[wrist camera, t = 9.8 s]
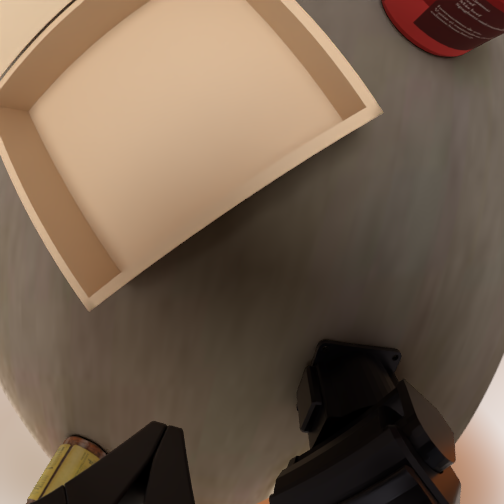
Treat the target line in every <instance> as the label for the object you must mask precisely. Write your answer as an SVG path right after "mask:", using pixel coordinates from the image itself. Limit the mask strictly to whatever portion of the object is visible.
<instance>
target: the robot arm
mask: <svg viewBox="0 0 504 504" xmlns="http://www.w3.org/2000/svg"><path fill="white" fill-rule="evenodd" d="M324 346H328V348H327V349H322V348H323V347H324ZM394 355H396V357H394V358H392V357H393V356H394ZM400 359H401V353H400V352H399V350H397V349H390V348H381V347H373V346H365V345H357V344H350V343H343V342H336V341H329V340H323V341H321V342H320V343H319V344H318V346H317V349H316V352H315V355H314V357H313V360H312V363H311V366H308V367H306V368H305V371H304V374H303V377H302V380H301V382H300V385H299V388H298V391H297V405H296V407H297V411H298V413H299V423H300V430H301V431H302V432H305V433H308V436H309V445H310V450H309V451H307V452H305V453H304V454H302V455H300V456H296V457H294V458H292V459H291V460H290V462H289V464H288V467H287V468H286V469H284V470H282V472H281V473H280V475H279V476H278V477H277V479H276V484H275V488H274V494H271V495H270V497H269V502H270V504H460V492H461V483H460V481H459V479H458V477H457V476H456V474H455V473H454V471H453V469H452V468H451V466H450V465H452V464H453V463H454V462H455V460H456V459H455V442H454V433H453V432H452V430H451V429H450V427H449V426H448V424H447V423H446V421H445V420H444V418H443V417H442V415H441V414H440V412H439V411H438V410H437V409H436V408H435V407H434V406H433V405H432V404H431V403H430V402H429V401H428V400H426V399H425V398H424V397H423V396H422V395H421V394H420V393H419V392H418V391H417V390H416V389H415V388H414V387H412V386H411V385H410V384H409V383H408V382H407V381H406V380H405V379H402V380H401V381H400V382H399V381H398V379H397V378H396V376H395V374H394V372H395V370H396V368H397V366H398V364H399V361H400ZM29 504H195V501H194V496H193V490H192V485H191V479H190V473H189V467H188V461H187V454H186V448H185V441H184V433H183V429H182V428H178V427H174V426H170V425H169V426H168V427H167V425H166V424H163V423H160V422H156V421H152V422H150V423H149V424H148V425H146V426H145V427H144V428H142V429H141V430H140V431H138V432H137V433H136V434H134V435H133V436H132V437H130V438H129V439H128V440H126V441H125V442H124V443H122V444H121V445H120V446H118V447H117V448H115V449H114V450H113V451H111V452H110V453H108V454H107V455H106V456H104V457H103V458H101V459H100V460H98V461H97V462H96V463H94V464H93V465H91V466H90V467H88V468H87V469H85V470H84V471H83V472H81V473H80V474H78V475H77V476H75V477H74V478H72V479H71V480H69V481H68V482H66V483H65V484H64V485H61V486H60V487H58V488H57V489H55V490H53V491H52V492H50V493H48V494H47V495H45V496H43V497H41V498H40V499H38V500H36V501H33V502H31V503H29Z"/></svg>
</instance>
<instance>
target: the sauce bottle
mask: <svg viewBox="0 0 504 504" xmlns="http://www.w3.org/2000/svg"><path fill="white" fill-rule="evenodd" d="M104 456H106V453H104V452H103V451H102V449H100V448H99V447H98V446H97V445H96V444H94V443H92V442H90V441H87V440H85V439H83V438H81V437H77V436H71V437H69V438H67V439H66V440H65V441H64V443H63V445H60V447H59V448H58V450H57V452H56V453H55V455H54V456H53V458H52V459H51V461H50V463H49V464H48V466H47V468H46V469H45V471H44V473H43V474H42V476H41V477H40V479H39V481H38V482H37V484H36V486H35V487H34V489H33V491H32V492H31V494H30V496H29V497H28V499H27V503H26V504H29V503H31V502H33V501H36V500H38V499H40V498H41V497H43V496H45V495H47V494H48V493H50V492H52V491H53V490H55V489H57V488H58V487H60V486H61V485H64V484H65V483H66V482H68V481H69V480H71V479H72V478H74V477H75V476H77V475H78V474H80V473H81V472H83V471H84V470H85V469H87V468H88V467H90V466H91V465H93V464H94V463H96V462H97V461H98V460H100V459H101V458H103V457H104Z"/></svg>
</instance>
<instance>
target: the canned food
mask: <svg viewBox="0 0 504 504" xmlns="http://www.w3.org/2000/svg"><path fill="white" fill-rule="evenodd" d="M382 3H383V7H384V9H385V11H386V13H387V15H388V17H389V18H390V20H391V21H392V23H393V24H394V26H395V27H396V28H397V29H398V30H399V31H400V32H401V33H402V34H403V35H404V36H405V37H406V38H407V39H408V40H409V41H411V42H412V43H413V44H415V45H416V46H418V47H419V48H421V49H423V50H425V51H427V52H429V53H432V54H434V55H438V56H459V55H463V54H465V53H466V52H468V51H470V50H472V49H474V48H476V47H478V46H480V45H482V44H483V43H485V42H487V41H489V40H491V39H493V38H495V37H497V36H499V35H501V34H503V33H504V0H382Z"/></svg>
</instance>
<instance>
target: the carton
mask: <svg viewBox="0 0 504 504" xmlns="http://www.w3.org/2000/svg"><path fill="white" fill-rule="evenodd" d="M382 113H383V111H382V110H381V108H380V107H379V105H378V103H377V102H376V100H375V99H374V97H373V96H372V95H371V93H370V92H369V90H368V89H367V87H366V86H365V84H364V83H363V82H362V80H361V79H360V77H359V76H358V75H357V73H356V72H355V71H354V69H353V68H352V67H351V65H350V64H349V63H348V61H347V60H346V59H345V57H344V56H343V55H342V54H341V52H340V51H339V50H338V49H337V47H336V46H335V45H334V44H333V42H332V41H331V40H330V39H329V38H328V36H327V35H326V34H325V33H324V32H323V30H322V29H321V28H320V27H319V26H318V25H317V24H316V22H315V21H314V20H313V19H312V18H311V17H310V16H309V15H308V14H307V13H306V11H305V10H304V9H303V8H302V7H301V6H300V5H299V4H298V3H297V2H296V1H295V0H76V1H75V2H74V3H73V4H72V5H70V6H69V7H68V8H67V9H66V10H65V11H64V12H63V13H62V14H61V15H59V16H58V17H57V18H56V19H55V20H54V21H53V22H52V23H51V24H50V25H49V26H48V27H47V28H46V29H45V30H44V31H43V32H42V33H41V34H40V35H39V36H38V37H37V38H36V39H35V41H34V42H33V43H32V44H31V45H30V46H29V47H28V48H27V49H26V51H25V52H24V53H23V54H22V55H21V56H20V57H19V59H18V60H17V61H16V62H15V63H14V65H13V66H12V67H11V68H10V70H9V71H8V72H7V73H6V75H5V76H4V77H3V78H2V80H1V81H0V155H1V157H2V160H3V162H4V164H5V167H6V169H7V171H8V173H9V176H10V178H11V180H12V182H13V184H14V187H15V189H16V191H17V193H18V195H19V197H20V199H21V201H22V203H23V205H24V207H25V209H26V211H27V213H28V215H29V217H30V219H31V220H32V222H33V224H34V226H35V228H36V230H37V231H38V233H39V235H40V237H41V238H42V240H43V242H44V244H45V245H46V247H47V249H48V250H49V252H50V254H51V255H52V257H53V259H54V260H55V262H56V264H57V265H58V267H59V268H60V270H61V272H62V273H63V275H64V276H65V278H66V279H67V281H68V282H69V284H70V285H71V287H72V288H73V290H74V291H75V293H76V294H77V296H78V297H79V298H80V300H81V301H82V303H83V304H84V306H85V307H86V308H87V310H88V311H91V310H92V309H93V308H95V307H96V306H97V305H98V304H100V303H101V302H102V301H104V300H105V299H106V298H108V297H109V296H110V295H112V294H113V293H114V292H115V291H117V290H118V289H119V288H121V287H122V286H123V285H125V284H126V283H127V282H129V281H130V280H131V279H133V278H134V277H136V276H137V275H138V274H140V273H141V272H142V271H144V270H145V269H146V268H148V267H149V266H150V265H152V264H153V263H155V262H156V261H157V260H159V259H160V258H161V257H163V256H164V255H166V254H167V253H168V252H170V251H171V250H173V249H174V248H175V247H177V246H178V245H180V244H181V243H182V242H184V241H185V240H187V239H188V238H189V237H191V236H192V235H194V234H195V233H197V232H198V231H199V230H201V229H202V228H204V227H205V226H207V225H208V224H210V223H211V222H212V221H214V220H215V219H217V218H218V217H220V216H221V215H223V214H224V213H226V212H227V211H228V210H230V209H231V208H233V207H234V206H236V205H237V204H239V203H240V202H242V201H243V200H245V199H246V198H248V197H249V196H251V195H252V194H254V193H255V192H257V191H258V190H260V189H261V188H263V187H264V186H266V185H267V184H269V183H271V182H272V181H274V180H275V179H277V178H278V177H280V176H281V175H283V174H284V173H286V172H288V171H289V170H291V169H292V168H294V167H295V166H297V165H298V164H300V163H302V162H303V161H305V160H306V159H308V158H310V157H311V156H313V155H314V154H316V153H318V152H319V151H321V150H322V149H324V148H326V147H327V146H329V145H330V144H332V143H334V142H335V141H337V140H339V139H340V138H342V137H344V136H345V135H347V134H349V133H350V132H352V131H353V130H355V129H357V128H359V127H360V126H362V125H364V124H365V123H367V122H369V121H370V120H372V119H374V118H375V117H377V116H379V115H381V114H382Z"/></svg>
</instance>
